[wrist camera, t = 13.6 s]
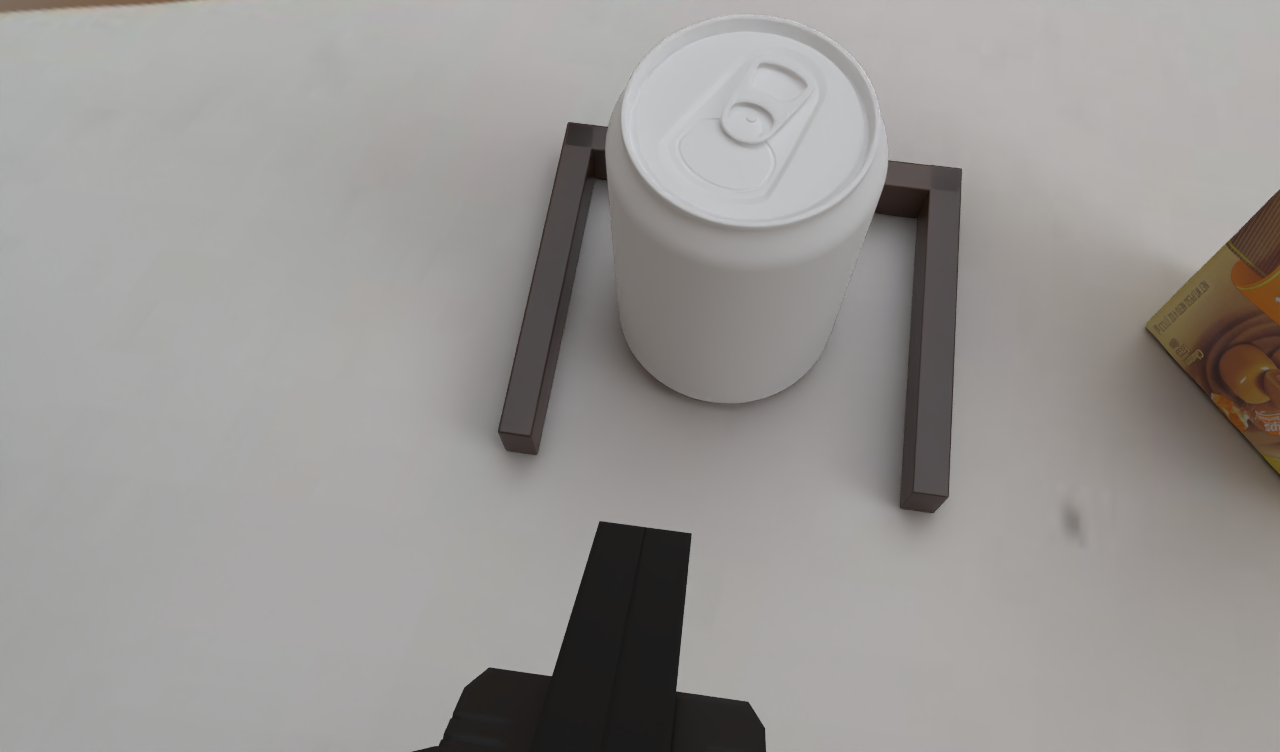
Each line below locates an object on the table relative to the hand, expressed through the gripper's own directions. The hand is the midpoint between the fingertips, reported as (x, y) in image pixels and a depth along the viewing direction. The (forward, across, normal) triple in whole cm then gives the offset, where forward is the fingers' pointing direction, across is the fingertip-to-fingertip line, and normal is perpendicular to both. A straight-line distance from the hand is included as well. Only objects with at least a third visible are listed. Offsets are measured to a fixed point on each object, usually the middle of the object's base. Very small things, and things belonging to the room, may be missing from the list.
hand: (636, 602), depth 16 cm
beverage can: (+23, +1, 0) cm, 23 cm away
